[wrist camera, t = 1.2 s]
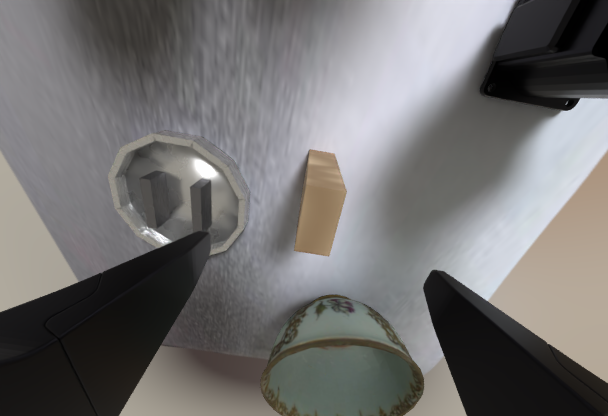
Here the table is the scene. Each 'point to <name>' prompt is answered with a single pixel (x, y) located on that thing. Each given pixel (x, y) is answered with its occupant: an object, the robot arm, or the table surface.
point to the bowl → (340, 364)
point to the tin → (179, 190)
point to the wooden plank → (320, 204)
